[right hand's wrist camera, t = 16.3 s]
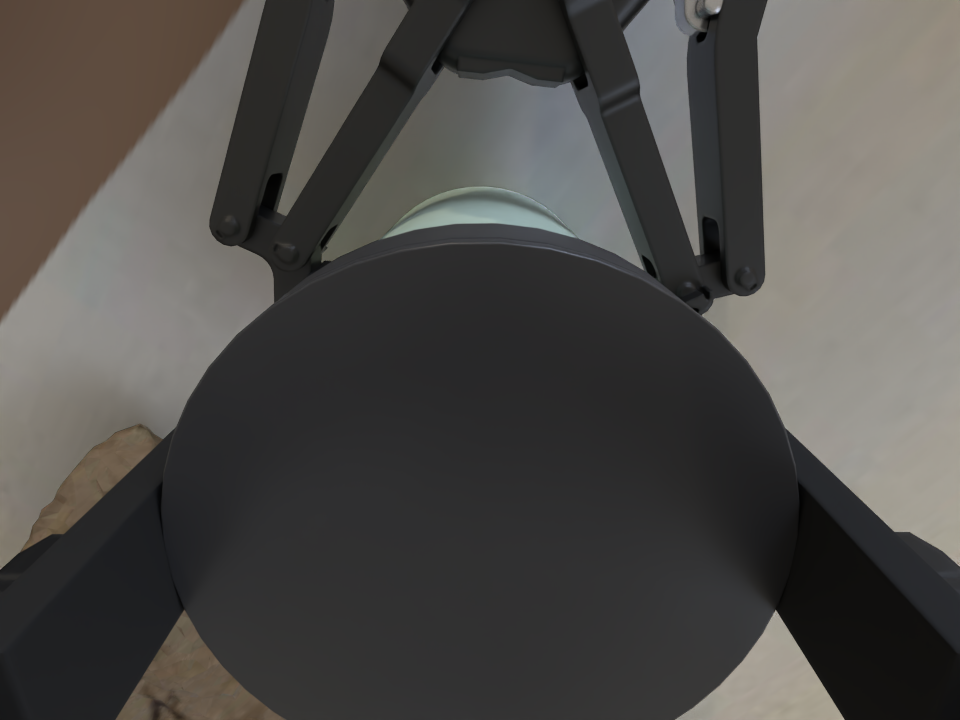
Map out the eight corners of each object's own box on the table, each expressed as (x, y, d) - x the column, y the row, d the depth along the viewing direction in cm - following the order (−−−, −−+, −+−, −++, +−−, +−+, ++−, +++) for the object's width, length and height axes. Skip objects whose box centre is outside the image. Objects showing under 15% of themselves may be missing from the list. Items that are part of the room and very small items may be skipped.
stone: (-98, 585, 29) (-189, 690, 23) (145, 394, 29) (110, 454, 23) (226, 763, 38) (214, 868, 33) (408, 618, 38) (427, 698, 33)
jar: (545, 426, 30) (626, 781, 13) (345, 367, 28) (166, 675, 12) (626, 229, 26) (866, 379, 10) (402, 153, 25) (258, 181, 9)
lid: (622, 732, 15) (643, 822, 13) (176, 625, 14) (125, 706, 12) (852, 329, 11) (931, 370, 9) (268, 134, 10) (216, 133, 8)
